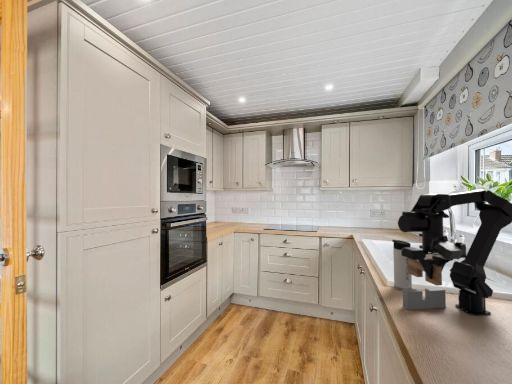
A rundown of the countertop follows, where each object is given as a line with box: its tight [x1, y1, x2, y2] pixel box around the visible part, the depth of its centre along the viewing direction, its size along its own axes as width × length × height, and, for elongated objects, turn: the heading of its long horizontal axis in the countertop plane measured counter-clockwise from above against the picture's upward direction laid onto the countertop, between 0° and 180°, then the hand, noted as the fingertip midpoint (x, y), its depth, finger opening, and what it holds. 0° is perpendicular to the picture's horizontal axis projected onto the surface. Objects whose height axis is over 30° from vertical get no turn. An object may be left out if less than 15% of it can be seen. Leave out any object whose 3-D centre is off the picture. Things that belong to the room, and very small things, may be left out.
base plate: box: [402, 286, 447, 311], centre depth 81 cm, size 14×2×6 cm, turn 95°
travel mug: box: [391, 239, 413, 292], centre depth 97 cm, size 6×7×20 cm
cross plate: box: [408, 258, 443, 286], centre depth 81 cm, size 2×12×6 cm, turn 5°
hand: (433, 278), depth 77 cm, fingers closed on cross plate, 2 cm apart
